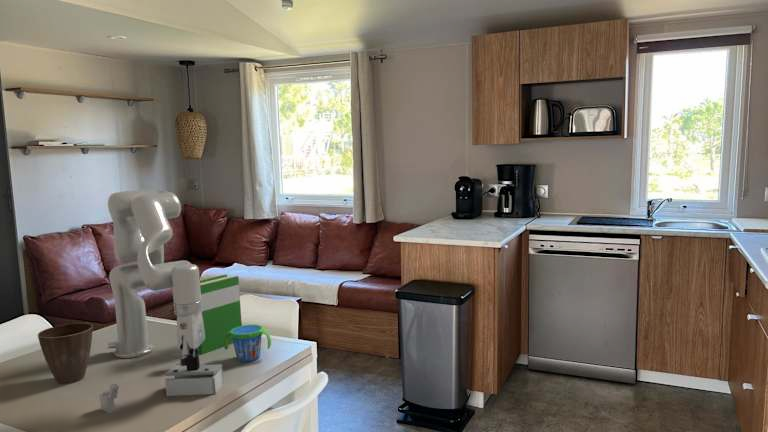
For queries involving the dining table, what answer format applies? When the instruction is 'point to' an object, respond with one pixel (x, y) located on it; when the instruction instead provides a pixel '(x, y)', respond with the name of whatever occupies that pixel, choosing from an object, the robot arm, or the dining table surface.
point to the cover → (201, 371)
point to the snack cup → (247, 341)
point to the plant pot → (67, 350)
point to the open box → (194, 384)
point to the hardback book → (219, 310)
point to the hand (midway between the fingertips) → (193, 369)
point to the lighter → (109, 398)
